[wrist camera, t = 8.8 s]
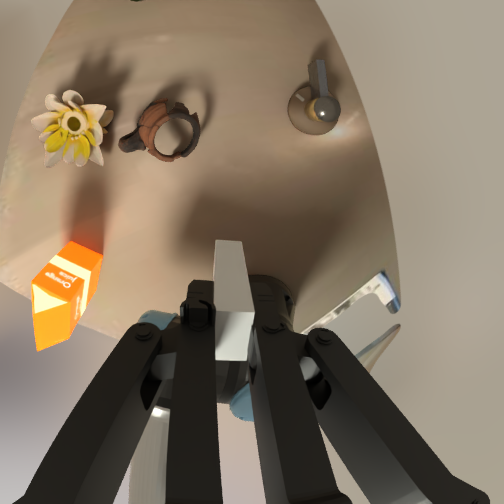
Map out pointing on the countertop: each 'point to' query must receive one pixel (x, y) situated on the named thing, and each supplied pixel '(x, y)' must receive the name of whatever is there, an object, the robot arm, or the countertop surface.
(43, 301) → the orange juice
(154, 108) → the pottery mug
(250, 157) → the countertop surface
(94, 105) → the decorative flower
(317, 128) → the dial base
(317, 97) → the knob
